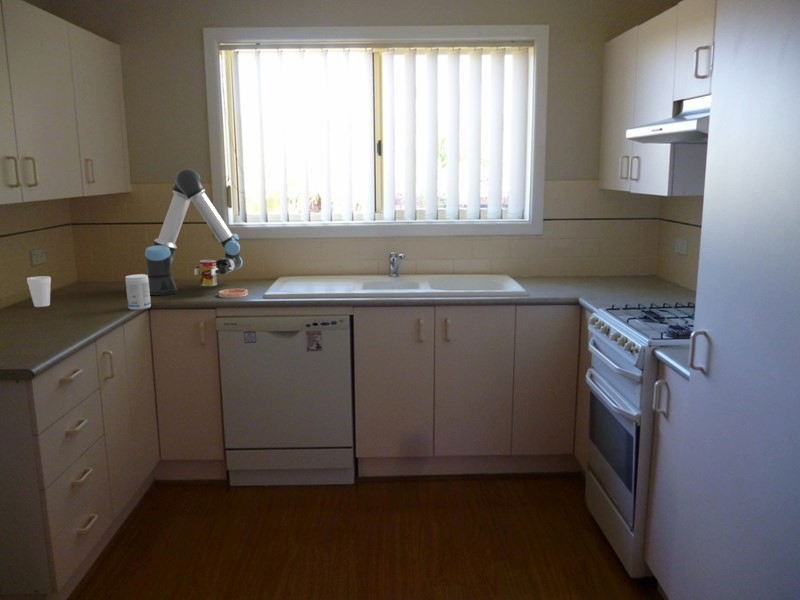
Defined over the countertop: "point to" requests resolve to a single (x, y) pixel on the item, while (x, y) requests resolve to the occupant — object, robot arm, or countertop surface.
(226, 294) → the terracotta dish
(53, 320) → the countertop surface
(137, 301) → the supplement tub
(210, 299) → the countertop surface
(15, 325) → the countertop surface
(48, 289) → the foam cup
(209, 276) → the canned food
